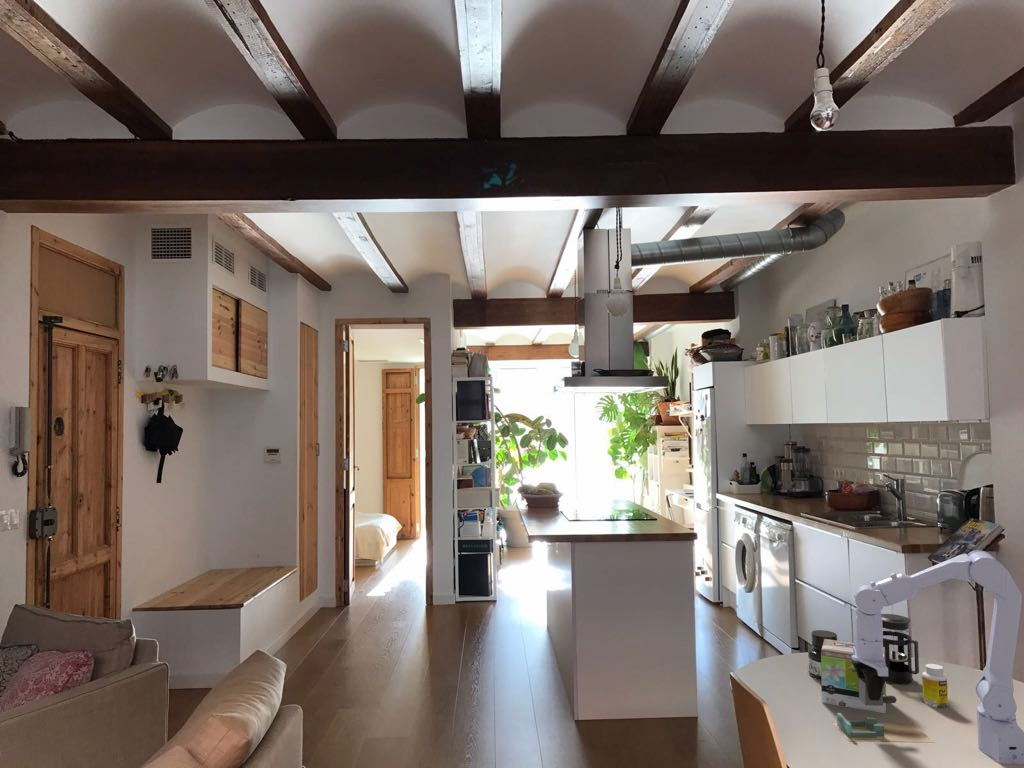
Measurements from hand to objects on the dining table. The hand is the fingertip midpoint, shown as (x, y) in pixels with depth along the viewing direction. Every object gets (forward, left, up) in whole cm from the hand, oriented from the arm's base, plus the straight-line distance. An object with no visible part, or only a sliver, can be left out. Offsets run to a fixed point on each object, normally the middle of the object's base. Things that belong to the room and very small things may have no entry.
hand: (870, 696), depth 171 cm
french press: (+36, -22, -9) cm, 43 cm away
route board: (0, -2, -9) cm, 9 cm away
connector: (0, -2, -1) cm, 2 cm away
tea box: (+18, -3, -9) cm, 20 cm away
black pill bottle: (+38, -3, -9) cm, 39 cm away
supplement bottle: (+17, -23, -9) cm, 30 cm away
